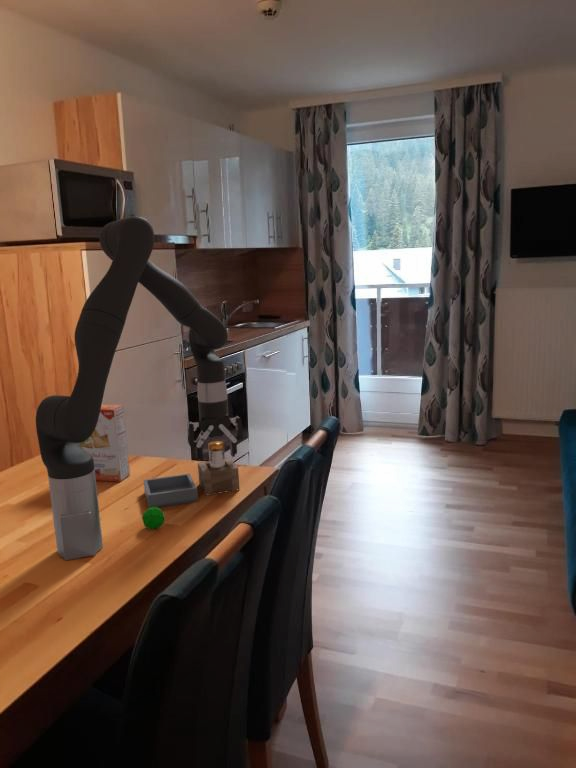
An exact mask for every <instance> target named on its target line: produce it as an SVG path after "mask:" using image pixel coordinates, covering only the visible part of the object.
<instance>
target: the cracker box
mask: <svg viewBox="0 0 576 768" xmlns="http://www.w3.org/2000/svg"><path fill="white" fill-rule="evenodd" d="M79 445H80V446H81V447H82V448H83V449H84V450H85V451H86V452H88V453H89V454H90V455H91V456H92V457H93V460H94V469H95V478H96V481H101V482H104V481H105V482H119V483H121V482H122V481H124V480H125V479H127V478H128V477H129V476H130V471H131V470H130V462H129V450H128V449H129V448H128V440H127V430H126V422H125V410H124V405H123V404H102V405H101V410H100V414H99V418H98V422H97V425H96V428H95V430H94V432H93V434H92V435H91V436H90V437H89V438H88V439H87V440H86V441H84V442H81V443H79Z"/></svg>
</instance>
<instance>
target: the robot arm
mask: <svg viewBox="0 0 576 768" xmlns="http://www.w3.org/2000/svg"><path fill="white" fill-rule="evenodd" d="M99 244H100V247H101V249H102V251H103V253H104V254H105V256H107V257H108V258H109V260H111V263H110V266H109V268H108V270H107V271H106V273H105V274H104V276H103V277H102V279H101V280H100V281H99V283H97V285H96V286H95V287H94V289H93V290H92V291H91V293H90V294H89V296H88V298H86V300H85V302H84V304H83V307H82V309H81V311H80V315H79V318H78V321H77V324H76V327H75V330H74V338H73V339H74V345H75V350H76V351H75V352H76V357H77V363H78V371H77V376H76V379H75V384H74V386H73V389H72V392H71V394H70V395H69V396H68V395H57V394H54V395H48V396H47V397H45V398H44V399H43V400H42V401H41V402H40V403H39V405H38V406H37V409H36V413H35V429H36V435H37V441H38V442H37V443H38V446H39V452H40V457H41V461H42V463H43V465H44V466H45V468H46V472H47V476H48V485H49V495H50V503H51V513H52V519H53V529H54V535H55V542H56V549H57V555H58V556H59V557H61V558H63V559H64V561H68V560H69V561H70V560H73V559H74V560H75V559H82V558H86V557H92V556H96V555H97V553H98V552H99V551H100V550H101V549H102V548H103V534H102V526H101V525H102V524H101V517H100V507H99V506H100V505H99V497H98V488H97V480H96V478H95V469H94V460H93V457H92V456H91V455H90V454H89V453H88V452H86V451H85V450H84V449H83V448H82V447H81V446H80V445H79V443H81V442H84V441H86V440H87V439H88V438H89V437H90V436H91V435H92V434H93V432H94V430H95V428H96V425H97V422H98V418H99V414H100V410H101V405H103V398H104V394H105V389H106V386H107V381H108V377H109V374H110V371H111V368H112V364H113V360H114V356H115V354H116V351H117V347H118V345H119V343H120V340H121V336H122V333H123V330H124V328H125V324H126V321H127V317H128V313H129V311H130V307H131V304H132V303H133V299H134V296H135V294H136V290H137V287H138V283H139V284H140V285H141V286H143V287H144V288H145V289H146V290H147V291H148V292H150V294H151V295H153V296H154V297H155V298H156V300H157V301H159V303H160V304H162V305H163V306H164V308H165V309H166V310H167V311H168V312H169V313H170V315H172V317H173V318H174V319H175V320H176V321H177V322H178V323H180V324H181V325H182V326H184V327H187V328H189V330H188V342H189V348H190V351H191V353H192V357H193V359H194V362H195V365H196V376H197V377H196V378H197V399H198V400H197V401H198V402H197V403H198V415H199V420H198V421H196V422H192V421H188V422H187V443H188V445H189V447H195V457H196V458H197V460H199V462H204V457H203V447H202V445H203V444H204V442H205V441H206V440H207V439H208V437H209V438H214V437H223V435H225V436H226V437H227V438H228V439H229V440H230V441H229V449H230V450H229V451H230V456H231V458H232V457H236V455H237V453H238V447H237V446H238V445H237V444H238V441H242V440H244V433H243V425H242V422H243V421H242V419H241V417H239V416H238V415H236V416H235V417H230V415H229V403H228V402H229V401H228V399H229V398H228V389H227V388H228V387H227V384H226V372H225V363H224V360H223V359H222V358H220V357H219V356H217V354H216V352H215V350H217V349H221V348H223V347H224V346H225V345H226V344H227V341H228V338H229V335H228V330H227V328H226V325H225V324H224V323H223V322H222V321H221V319H220V318H219V317H217V316H216V315H214V314H213V313H212V312H211V311H210V310H209V309H208V308H206V307H204V306H203V305H202V304H201V303H200V302H199V300H198V299H197V298H196V297H195V296H194V294H192V292H191V291H190V290H189V289H188V287H187V286H185V284H184V283H182V282H181V281H180V280H178V279H177V278H176V277H174V276H172V275H170V274H169V273H168V272H166V271H164V270H162V269H161V268H160V267H158V265H156V264H154V263H153V262H152V261H151V260H150V256H151V255H152V252H153V250H154V245H155V231H154V228H153V226H152V224H151V223H150V222H149V221H148V219H146V218H144V217H143V216H139V215H138V216H137V215H136V216H134V215H133V216H127V217H124V218H121V219H120V218H119V219H117V220H113V221H111V222H109V223H107V224H105V225H104V226H103V227H102V229H101V230H100V232H99ZM231 423H232V424H233V425H234V426H235V431H236V432H235V433H236V435H233V434H232V433H231V431H230V430H229V429H228V428H229V427H230V425H231ZM197 428H199V429H200V430H201V431H200V433H199V434H198V437H197V438H196V440H195V435H194V434H195V431H197Z"/></svg>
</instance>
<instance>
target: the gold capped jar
mask: <svg viewBox="0 0 576 768" xmlns="http://www.w3.org/2000/svg"><path fill="white" fill-rule="evenodd" d="M207 444H208V445H207V446H208V457H209V458H208V461H210V470H212V469H219V468H225V459H226V458H225V457H226V456H225V455H226V454H225V445H224V444H225V443H224V441H220V440H215V441H211V442H208V443H207Z"/></svg>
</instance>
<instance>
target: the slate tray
mask: <svg viewBox="0 0 576 768" xmlns="http://www.w3.org/2000/svg"><path fill="white" fill-rule="evenodd" d="M143 488H144V489H143V490H144V495H145V498H146V502H147V506H148V509H149V508H150V507H157V508H159V509H160V508H162V507H163V508H165V507H170V506H176V505H183V504H184V505H185V504H189V503H190V504H191V503H197V502H196V501H198V502H199V498H198V488H197V486H196V484H195V482H194V480H193V478H192V476H191V474H190V473H183V474H176V475H170V476H161V477H156V478H148V479H143Z"/></svg>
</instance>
